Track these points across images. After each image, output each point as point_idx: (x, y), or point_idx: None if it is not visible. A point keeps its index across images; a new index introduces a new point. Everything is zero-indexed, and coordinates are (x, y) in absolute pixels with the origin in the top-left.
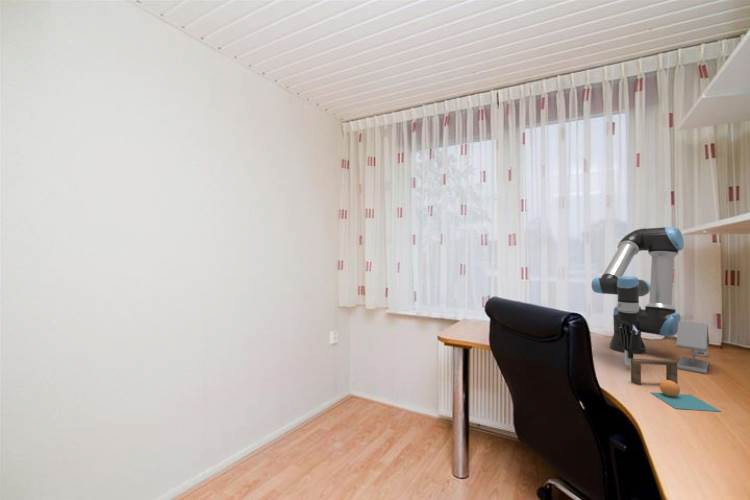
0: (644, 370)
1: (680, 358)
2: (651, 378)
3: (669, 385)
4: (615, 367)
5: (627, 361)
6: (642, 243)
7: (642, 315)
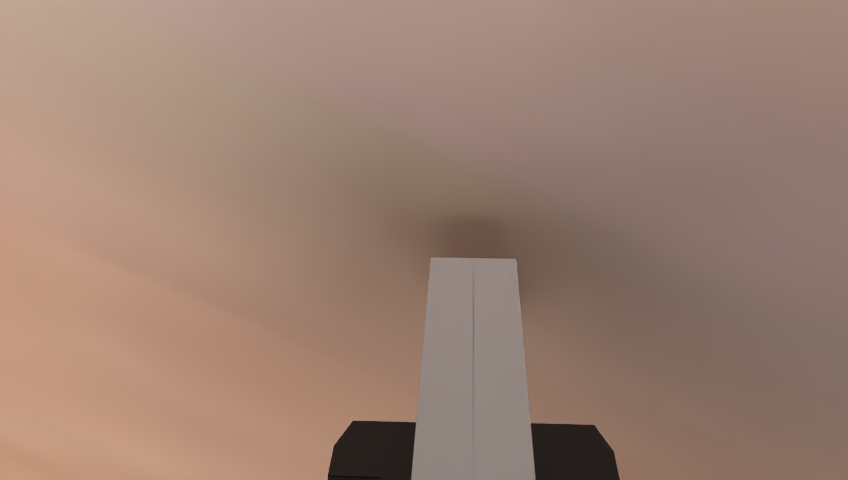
0: None
1: None
2: (4, 360)
3: None
4: (581, 39)
5: (427, 333)
6: None
7: None
